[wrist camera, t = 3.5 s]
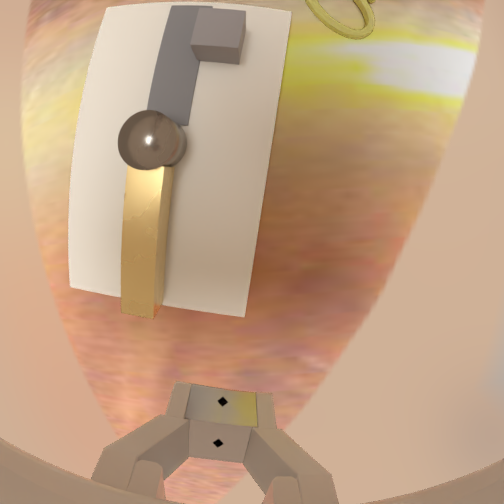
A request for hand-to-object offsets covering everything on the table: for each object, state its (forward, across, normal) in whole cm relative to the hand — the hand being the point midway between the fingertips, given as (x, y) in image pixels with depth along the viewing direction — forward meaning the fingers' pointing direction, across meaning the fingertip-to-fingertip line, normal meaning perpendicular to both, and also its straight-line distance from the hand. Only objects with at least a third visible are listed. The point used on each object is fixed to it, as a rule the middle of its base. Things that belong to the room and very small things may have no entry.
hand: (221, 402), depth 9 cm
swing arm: (+14, +6, -3) cm, 15 cm away
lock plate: (+15, +6, -8) cm, 18 cm away
